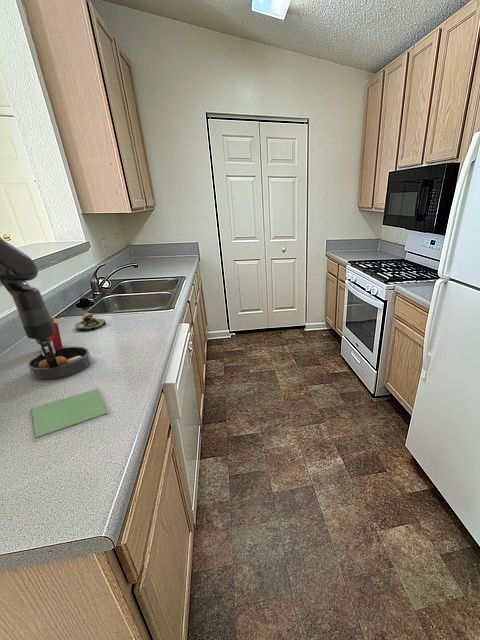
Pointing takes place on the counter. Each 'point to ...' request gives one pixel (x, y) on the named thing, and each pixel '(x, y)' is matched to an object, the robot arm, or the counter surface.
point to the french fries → (55, 336)
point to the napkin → (67, 412)
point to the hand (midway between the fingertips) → (55, 368)
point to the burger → (89, 322)
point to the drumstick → (59, 361)
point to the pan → (61, 370)
